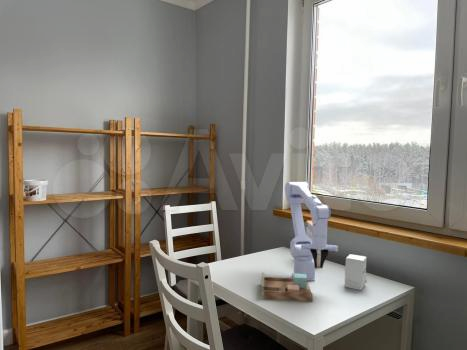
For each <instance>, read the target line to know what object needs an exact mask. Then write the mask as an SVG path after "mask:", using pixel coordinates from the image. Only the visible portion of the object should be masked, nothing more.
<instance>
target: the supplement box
mask: <svg viewBox="0 0 467 350" xmlns="http://www.w3.org/2000/svg"><path fill="white" fill-rule="evenodd" d="M344 269H345V270H344V285H343V287H345V288H348V289H349V288H350V289H353V290H358V291H362V290H363V288H364V287H365V286H366V279H365V278H366V277H367V275H366V273H367V256H365V255H358V254H351V253H350V254H348V256H346V258H345V268H344Z"/></svg>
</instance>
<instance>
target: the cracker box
mask: <svg viewBox="0 0 467 350" xmlns="http://www.w3.org/2000/svg"><path fill="white" fill-rule="evenodd" d="M305 233H306V236H307V237H309V238H310V239H311V240H312V235H313V223H312V220H306V228H305ZM317 253H318V254H317V268H321V267H320V261H321V250H317ZM312 259H313V257H312Z"/></svg>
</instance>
